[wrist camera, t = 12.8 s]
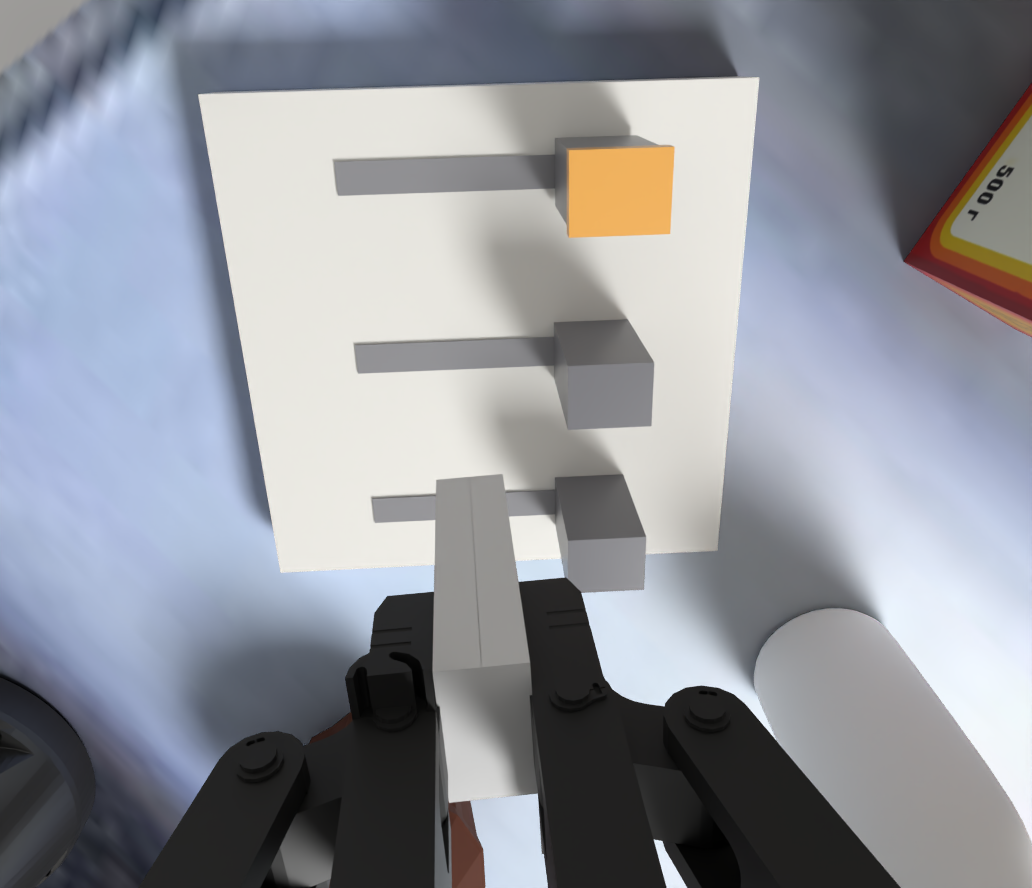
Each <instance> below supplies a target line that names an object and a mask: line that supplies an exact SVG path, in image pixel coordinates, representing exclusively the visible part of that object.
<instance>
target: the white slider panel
mask: <svg viewBox="0 0 1032 888" xmlns="http://www.w3.org/2000/svg"><path fill="white" fill-rule="evenodd" d="M758 86H759V77H741V76H735V77H701V78H668V79H635V80H601V81H568V82H534V83H501V84H467V85H434V86H401V87H367V88H334V89H300V90H267V91H233V92H213V93H205V94H198V97H199V102H200V108H201V114H202V120H203V126H204V131H205V137H206V143H207V149H208V155H209V160H210V166H211V172H212V178H213V183H214V189H215V195H216V201H217V207H218V212H219V218H220V224H221V230H222V236H223V241H224V247H225V253H226V259H227V265H228V270H229V276H230V282H231V288H232V294H233V299H234V305H235V311H236V317H237V323H238V328H239V334H240V340H241V346H242V352H243V357H244V363H245V369H246V375H247V381H248V386H249V392H250V398H251V404H252V410H253V415H254V421H255V427H256V433H257V439H258V444H259V450H260V456H261V462H262V468H263V473H264V479H265V485H266V491H267V497H268V502H269V508H270V514H271V520H272V526H273V531H274V537H275V543H276V549H277V555H278V560H279V566H280V572H281V573H283V572H303V571H323V570H343V569H363V568H383V567H403V566H423V565H435V516H436V480H439V479H451V478H462V477H473V476H485V475H496V474H503V480H504V487H505V494H506V500H507V507H508V514H509V521H510V528H511V535H512V542H513V548H514V555H515V561H523V560H543V559H562V564H563V570H564V575H565V578H567V579H568V580H569V581H571V582H572V583H573V584H574V585H575V586H576V587H577V588H578V589H579V590H580V591H581V593H586V592H605V591H625V590H644V577H645V555H646V554H663V553H683V552H703V551H717V549H718V538H719V527H720V515H721V504H722V493H723V481H724V470H725V459H726V447H727V436H728V425H729V414H730V402H731V391H732V380H733V368H734V357H735V346H736V335H737V323H738V312H739V301H740V289H741V278H742V267H743V255H744V244H745V233H746V222H747V210H748V199H749V188H750V176H751V165H752V154H753V142H754V131H755V120H756V109H757V97H758ZM628 135H637V136H640V137H642V138H644V139H646V140H649V141H651V142H653V143H656V144H658V145H671V146H674V147H675V150H674V170H673V190H672V209H671V229H670V234H660V235H633V236H605V237H578V238H569V237H568V235H567V225H566V223H565V221H564V220H563V218H562V216H561V215H560V213H559V211H558V210H557V208H556V206H555V138H566V137H597V136H628Z"/></svg>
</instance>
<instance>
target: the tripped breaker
mask: <svg viewBox="0 0 1032 888" xmlns="http://www.w3.org/2000/svg"><path fill="white" fill-rule="evenodd" d="M674 150H675V147H674V146H671V145H658V144H656V143H653V142H651V141H649V140H646V139H644V138H642V137H640V136H637V135H628V136H597V137H566V138H555V206H556V208H557V210H558V211H559V213H560V215H561V216H562V218H563V220H564V221H565V223H566V225H567V235H568V237H569V238H578V237H605V236H633V235H660V234H670V229H671V209H672V190H673V170H674Z"/></svg>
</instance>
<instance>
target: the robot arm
mask: <svg viewBox="0 0 1032 888" xmlns="http://www.w3.org/2000/svg"><path fill="white" fill-rule="evenodd" d="M370 646H371V649H370V653H369V654H367V655H365V656H363V657H361V658H359V659H358V660H357V661H356V662H355V663H354V664H353V665H352V666H351V667H350V668H349V670H348V673H347V675H346V677H345V681H346V687H347V692H348V698H349V703H350V709H351V714H352V722H351V723H350V724H349V725H347V726H346V727H345V728H343V729H342V730H340V731H339V732H337V733H336V734H334V735H331V736H329V737H327V738H325V739H322V740H319V741H316V742H313V743H311V744H308V745H305V746H302V743H301V742H300V741H299V740H298V739H297V738H295V737H294V736H293V735H291V734H287V733H283V732H279V731H276V732H262V733H259V734H256V735H253V736H250V737H247V738H244V739H243V740H241V741H240V742H238V743H237V744H235V745H234V746H232V747H230V748H229V749H228V751H227V752H226V753H225V754H224V755H223V756H222V757H221V758H220V760H219V761H218V762H217V764H216V766H215V767H214V769H213V770H212V772H211V774H210V775H209V777H208V778H207V780H206V782H205V783H204V785H203V786H202V788H201V789H200V791H199V793H198V794H197V796H196V797H195V799H194V801H193V802H192V804H191V805H190V807H189V808H188V810H187V812H186V813H185V815H184V816H183V818H182V820H181V821H180V823H179V824H178V826H177V828H176V829H175V831H174V832H173V834H172V835H171V837H170V839H169V840H168V842H167V843H166V845H165V847H164V848H163V850H162V851H161V853H160V855H159V856H158V858H157V859H156V861H155V862H154V864H153V866H152V867H151V869H150V870H149V872H148V874H147V875H146V877H145V878H144V880H143V881H142V883H141V885H140V886H139V888H452V863H451V826H450V818H449V810H448V799H449V803H452V802H462V801H471V800H480V799H490V798H499V797H508V796H518V795H527V794H537V793H538V800H539V815H540V831H541V846H542V854H544V858H545V866H546V874H547V882H548V888H666V884H665V880H664V877H663V873H662V869H661V866H660V862H659V858H658V854H657V851H656V847H655V843H654V840H653V839H655V840H661V841H663V844H664V847H665V850H666V852H667V853H668V855H669V857H670V859H671V860H672V862H673V864H674V865H675V867H676V869H677V871H678V872H679V874H680V876H681V877H682V879H683V881H684V883H685V884H686V886H687V888H901V887H900V886H899V885H898V884H897V882H896V881H895V880H894V879H893V878H892V877H891V875H890V874H889V873H888V872H887V871H886V869H885V868H884V867H883V866H882V865H881V864H880V862H879V861H878V860H877V859H876V858H875V856H874V855H873V854H872V853H871V852H870V851H869V849H868V848H867V847H866V846H865V845H864V844H863V842H862V841H861V840H860V839H859V838H858V836H857V835H856V834H855V833H854V832H853V831H852V829H851V828H850V827H849V826H848V825H847V824H846V822H845V821H844V820H843V819H842V818H841V816H840V815H839V814H838V813H837V812H836V811H835V809H834V808H833V807H832V806H831V805H830V803H829V802H828V801H827V800H826V799H825V798H824V796H823V795H822V794H821V793H820V792H819V791H818V789H817V788H816V787H815V786H814V785H813V783H812V782H811V781H810V780H809V779H808V778H807V776H806V775H805V774H804V773H803V772H802V770H801V769H800V768H799V767H798V766H797V765H796V763H795V762H794V761H793V760H792V759H791V758H790V756H789V755H788V754H787V753H786V752H785V750H784V749H783V748H782V747H781V746H780V745H779V743H778V742H777V741H776V740H775V739H774V737H773V736H772V735H771V734H770V733H769V732H768V730H767V729H766V728H765V727H764V726H763V725H762V723H761V722H760V721H759V720H758V719H757V717H756V716H755V715H754V714H753V713H752V712H751V710H750V709H749V708H748V707H747V706H746V705H745V703H743V702H742V701H741V700H740V699H738V698H737V697H736V696H735V695H734V694H732V693H729V692H727V691H724V690H722V689H719V688H715V687H708V686H696V687H688V688H684V689H682V690H680V691H678V692H676V693H674V694H673V695H672V696H671V697H670V698H669V700H668V701H667V702H666V703H665V707H663V706H656V705H649V704H644V703H639V702H635V701H632V700H629V699H627V698H625V697H622V696H621V695H619V694H618V693H616V692H615V691H614V690H612V688H611V687H610V685H609V683H608V682H607V681H605V679H604V676H603V674H602V670H601V666H600V662H599V659H598V655H597V651H596V647H595V643H594V640H593V636H592V632H591V628H590V626H589V621H588V617H587V613H586V611H585V605H584V602H583V598H582V594H581V591H580V590H579V589H578V588H577V587H576V586H575V585H574V584H573V583H572V582H571V581H569V580H568V579H567V578H556V579H545V580H535V581H524V582H518V576H517V569H516V562H515V555H514V548H513V542H512V535H511V528H510V521H509V514H508V507H507V500H506V494H505V487H504V480H503V474H496V475H485V476H473V477H462V478H451V479H439V480H436V516H435V568H434V592H427V593H416V594H405V595H395V596H387V597H386V599H385V600H384V601H383V603H382V604H381V605H380V606H379V608H378V609H377V610H376V612H375V614H374V621H373V629H372V637H371V645H370ZM94 798H95V776H94V771H93V767H92V763H91V761H90V758H89V756H88V753H87V751H86V749H85V747H84V746H83V744H82V742H81V741H80V739H79V738H78V736H77V735H76V733H75V732H74V731H73V730H72V728H71V727H70V726H69V725H68V724H67V723H66V721H65V720H64V719H63V718H62V717H61V716H60V715H59V714H57V713H56V712H55V711H54V710H53V709H52V708H51V707H49V706H48V705H47V704H46V703H44V702H43V701H41V700H40V699H39V698H37V697H36V696H34V695H33V694H31V693H30V692H28V691H26V690H25V689H23V688H21V687H19V686H17V685H15V684H13V683H11V682H9V681H7V680H5V679H3V678H0V888H35V887H36V886H38V885H39V884H41V883H42V882H43V881H44V880H46V879H47V878H48V877H49V876H50V875H51V874H52V873H53V872H54V871H55V870H56V869H57V868H58V867H59V866H60V865H61V864H62V863H63V861H64V860H65V859H66V857H67V856H68V854H69V853H70V851H71V850H72V848H73V846H74V844H75V843H76V841H77V839H78V837H79V835H80V833H81V831H82V829H83V827H84V825H85V823H86V821H87V819H88V817H89V815H90V812H91V810H92V807H93V803H94ZM330 879H331V880H330ZM329 884H330V887H329Z"/></svg>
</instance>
